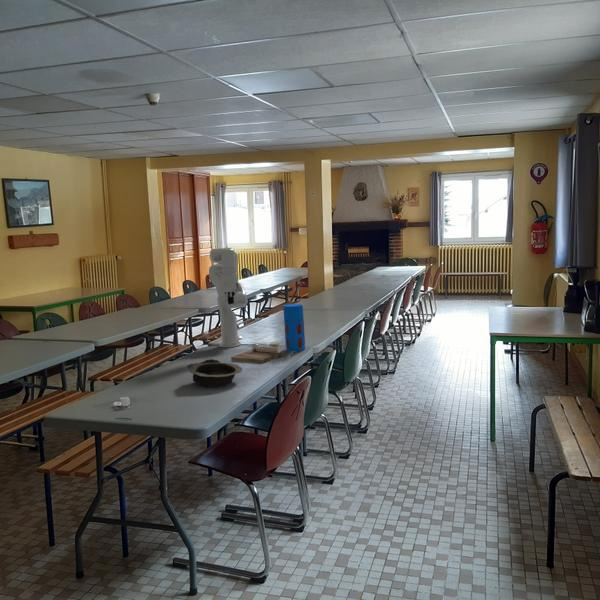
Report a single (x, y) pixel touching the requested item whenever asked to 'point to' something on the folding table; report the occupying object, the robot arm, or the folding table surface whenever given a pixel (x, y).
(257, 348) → the lock bar
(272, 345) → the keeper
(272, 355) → the plate
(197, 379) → the brown round bowl
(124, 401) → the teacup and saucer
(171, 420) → the folding table surface
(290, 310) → the thermos
